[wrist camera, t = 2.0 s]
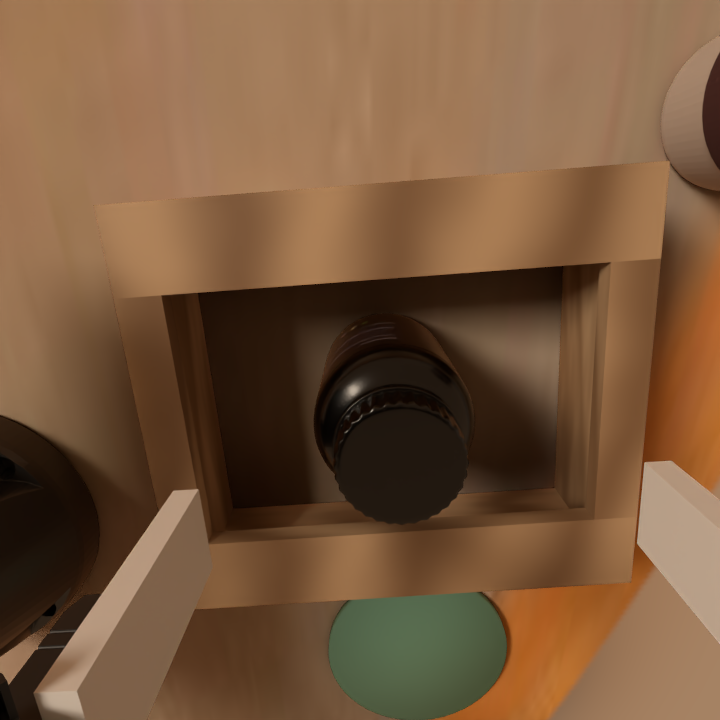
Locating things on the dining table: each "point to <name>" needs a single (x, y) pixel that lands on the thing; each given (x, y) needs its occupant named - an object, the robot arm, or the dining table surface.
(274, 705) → the dining table surface
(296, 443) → the dining table surface
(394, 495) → the supplement bottle
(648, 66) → the dining table surface
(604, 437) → the cover box
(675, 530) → the robot arm
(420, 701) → the mat
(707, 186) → the coffee cup
